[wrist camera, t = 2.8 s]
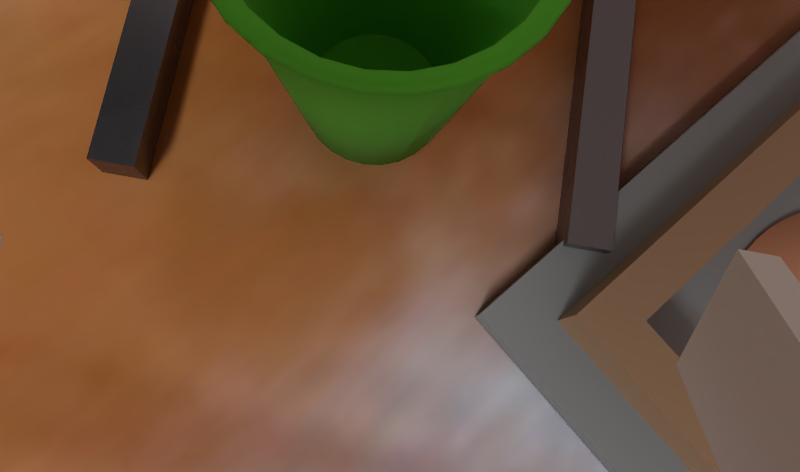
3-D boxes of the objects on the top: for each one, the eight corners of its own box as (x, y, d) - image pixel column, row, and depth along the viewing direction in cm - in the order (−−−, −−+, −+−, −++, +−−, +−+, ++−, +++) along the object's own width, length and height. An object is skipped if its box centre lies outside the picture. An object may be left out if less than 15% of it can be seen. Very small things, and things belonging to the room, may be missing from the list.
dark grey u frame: (189, -146, 27) (180, -176, 26) (628, -61, 28) (644, -86, 26) (102, 171, 24) (86, 158, 23) (597, 258, 25) (612, 251, 23)
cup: (441, -32, 27) (502, -308, 16) (527, 174, 25) (658, 21, 14) (222, 31, 26) (129, -222, 15) (297, 252, 24) (255, 147, 13)
